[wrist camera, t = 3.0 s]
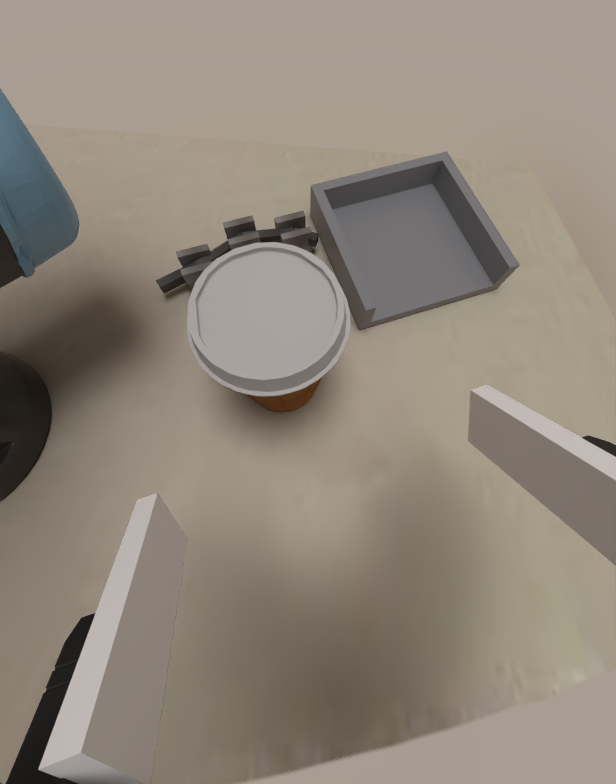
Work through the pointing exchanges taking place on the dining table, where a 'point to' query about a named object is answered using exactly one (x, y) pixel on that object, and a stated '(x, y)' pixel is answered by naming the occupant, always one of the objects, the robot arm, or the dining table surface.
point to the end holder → (408, 239)
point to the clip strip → (239, 235)
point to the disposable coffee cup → (268, 323)
